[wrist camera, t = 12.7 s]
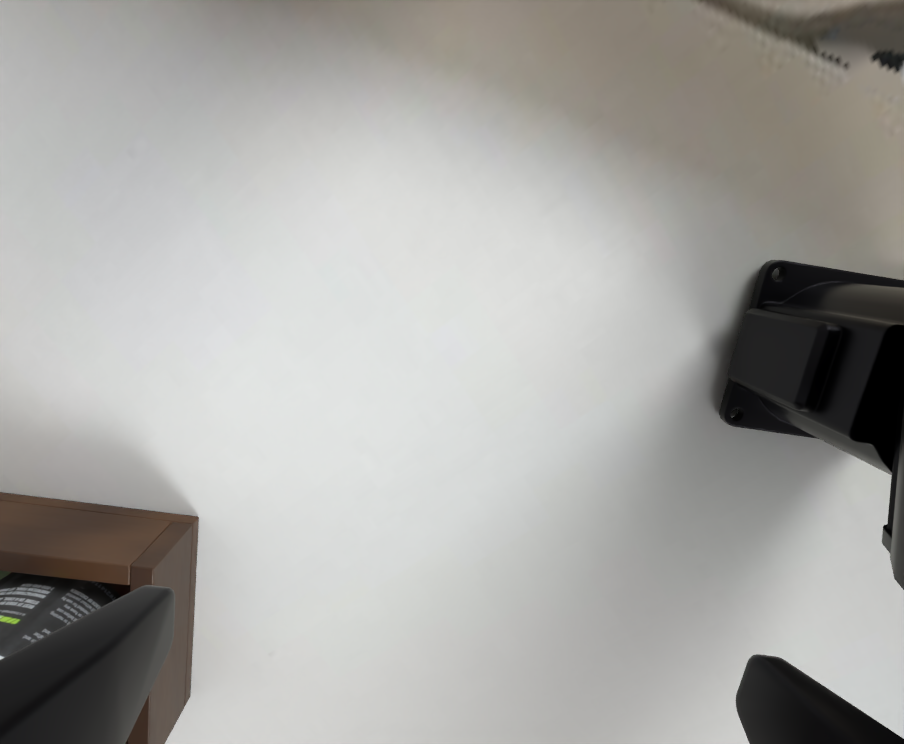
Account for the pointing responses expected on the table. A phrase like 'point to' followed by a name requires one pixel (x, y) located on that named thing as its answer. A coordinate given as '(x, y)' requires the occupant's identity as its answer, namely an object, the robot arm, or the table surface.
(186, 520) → the wooden square tray
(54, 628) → the supplement bottle
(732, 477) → the table surface
